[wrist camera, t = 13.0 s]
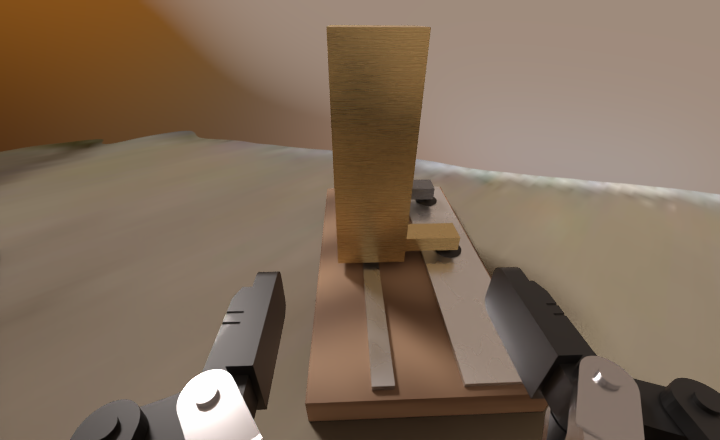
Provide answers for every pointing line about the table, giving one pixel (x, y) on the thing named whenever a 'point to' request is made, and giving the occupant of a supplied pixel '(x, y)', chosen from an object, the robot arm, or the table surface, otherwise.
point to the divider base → (408, 331)
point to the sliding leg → (378, 141)
